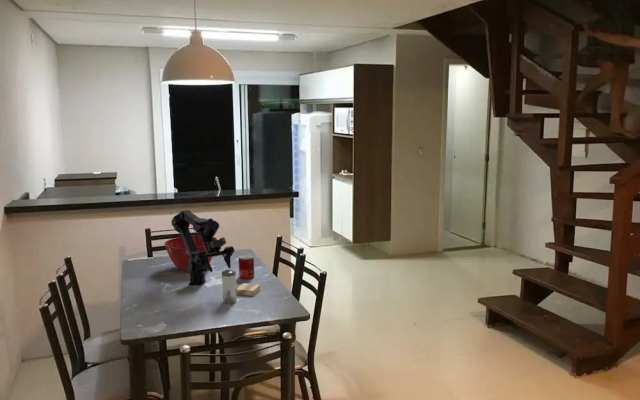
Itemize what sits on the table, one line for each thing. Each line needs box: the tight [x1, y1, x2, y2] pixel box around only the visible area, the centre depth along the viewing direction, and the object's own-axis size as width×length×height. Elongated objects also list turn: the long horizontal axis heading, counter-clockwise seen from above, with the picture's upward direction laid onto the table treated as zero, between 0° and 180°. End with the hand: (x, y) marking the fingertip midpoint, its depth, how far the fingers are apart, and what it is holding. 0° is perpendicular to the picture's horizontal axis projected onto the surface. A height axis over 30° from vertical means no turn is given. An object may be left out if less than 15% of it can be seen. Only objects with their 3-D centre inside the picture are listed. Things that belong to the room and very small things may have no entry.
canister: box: [221, 269, 238, 305], centre depth 234 cm, size 6×6×14 cm
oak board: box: [236, 283, 261, 297], centre depth 248 cm, size 9×9×2 cm
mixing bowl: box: [164, 234, 218, 272], centre depth 287 cm, size 28×28×16 cm
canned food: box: [238, 254, 255, 280], centre depth 271 cm, size 8×8×11 cm
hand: (221, 269), depth 239 cm, fingers open, 9 cm apart
